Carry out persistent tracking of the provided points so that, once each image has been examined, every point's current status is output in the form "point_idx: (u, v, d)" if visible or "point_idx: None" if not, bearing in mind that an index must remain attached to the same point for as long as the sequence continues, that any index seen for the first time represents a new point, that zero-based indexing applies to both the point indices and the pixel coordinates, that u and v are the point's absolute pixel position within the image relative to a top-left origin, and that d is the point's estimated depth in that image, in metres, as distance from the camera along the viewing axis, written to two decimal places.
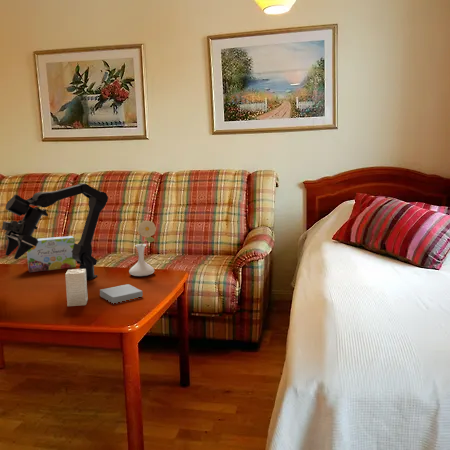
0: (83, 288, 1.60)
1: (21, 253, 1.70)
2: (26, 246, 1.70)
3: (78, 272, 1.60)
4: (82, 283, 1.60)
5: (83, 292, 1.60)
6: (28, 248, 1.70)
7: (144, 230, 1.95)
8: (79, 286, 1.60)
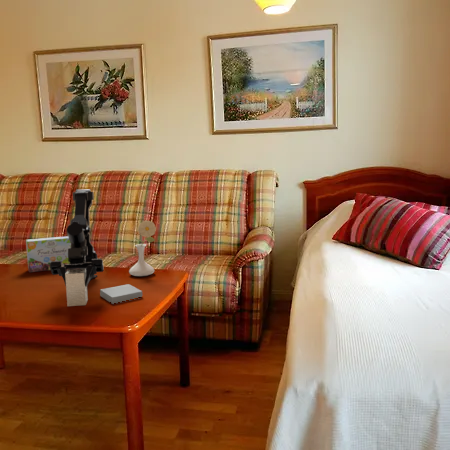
0: (83, 288, 1.60)
1: (89, 280, 1.64)
2: (90, 272, 1.66)
3: (78, 272, 1.60)
4: (82, 283, 1.60)
5: (83, 292, 1.60)
6: (92, 274, 1.67)
7: (144, 230, 1.95)
8: (79, 286, 1.60)
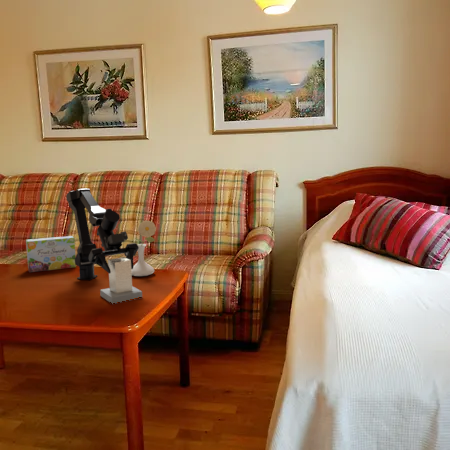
0: (130, 274, 1.68)
1: None
2: None
3: (124, 260, 1.67)
4: (129, 270, 1.67)
5: (130, 278, 1.68)
6: None
7: (144, 230, 1.95)
8: (127, 273, 1.67)
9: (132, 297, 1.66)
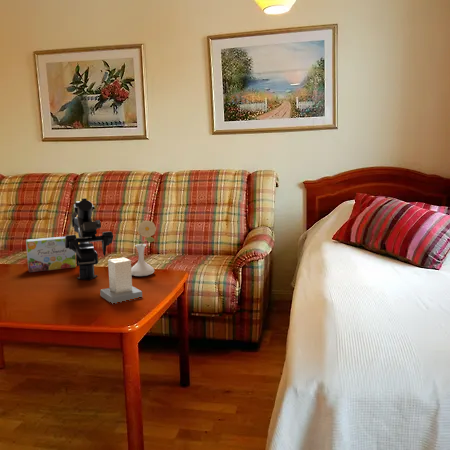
0: (130, 275, 1.68)
1: None
2: None
3: (124, 260, 1.67)
4: (129, 270, 1.67)
5: (130, 279, 1.68)
6: None
7: (144, 230, 1.95)
8: (127, 273, 1.67)
9: (132, 297, 1.66)
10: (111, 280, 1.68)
